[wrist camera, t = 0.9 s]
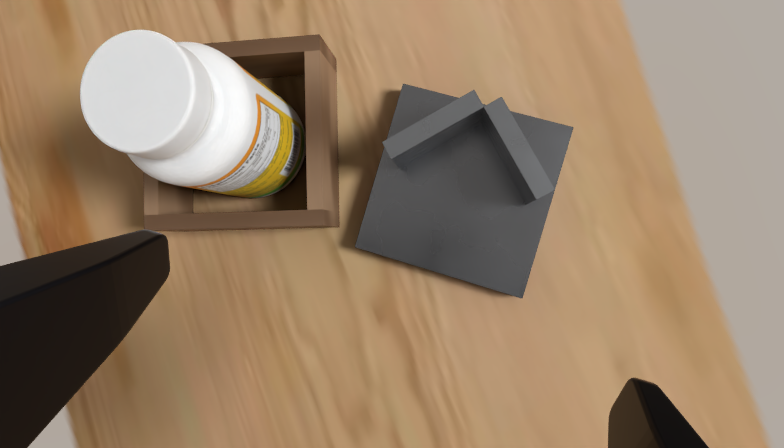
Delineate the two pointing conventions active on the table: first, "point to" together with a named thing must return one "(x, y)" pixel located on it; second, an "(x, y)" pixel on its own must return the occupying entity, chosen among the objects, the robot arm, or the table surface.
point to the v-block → (464, 188)
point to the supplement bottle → (191, 116)
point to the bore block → (314, 60)
